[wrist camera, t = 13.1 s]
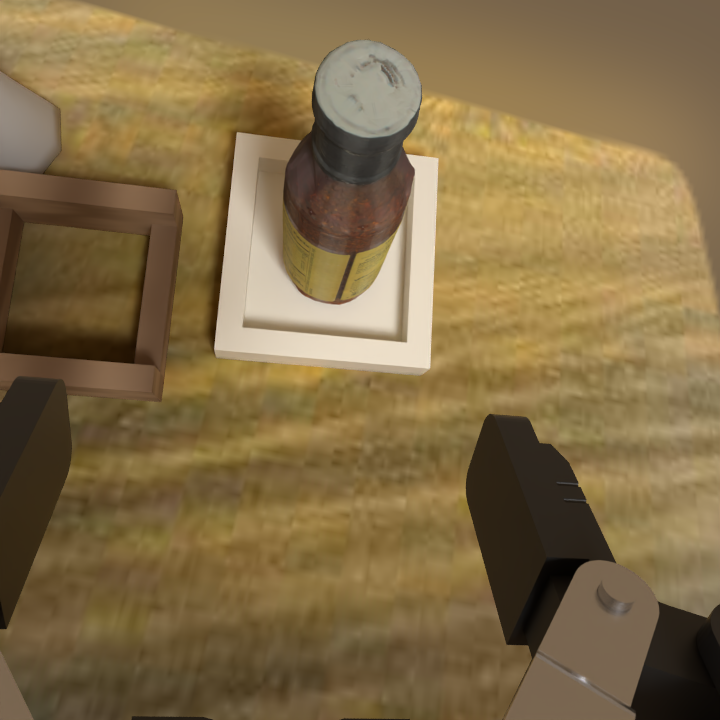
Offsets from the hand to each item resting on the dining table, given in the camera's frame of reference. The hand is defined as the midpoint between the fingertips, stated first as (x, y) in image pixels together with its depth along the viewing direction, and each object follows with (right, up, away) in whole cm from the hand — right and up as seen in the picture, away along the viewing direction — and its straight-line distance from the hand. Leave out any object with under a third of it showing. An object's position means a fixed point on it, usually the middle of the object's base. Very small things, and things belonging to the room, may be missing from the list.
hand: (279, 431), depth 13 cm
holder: (-16, +5, +29) cm, 33 cm away
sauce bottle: (-1, +8, +31) cm, 32 cm away
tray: (-1, +8, +32) cm, 33 cm away
